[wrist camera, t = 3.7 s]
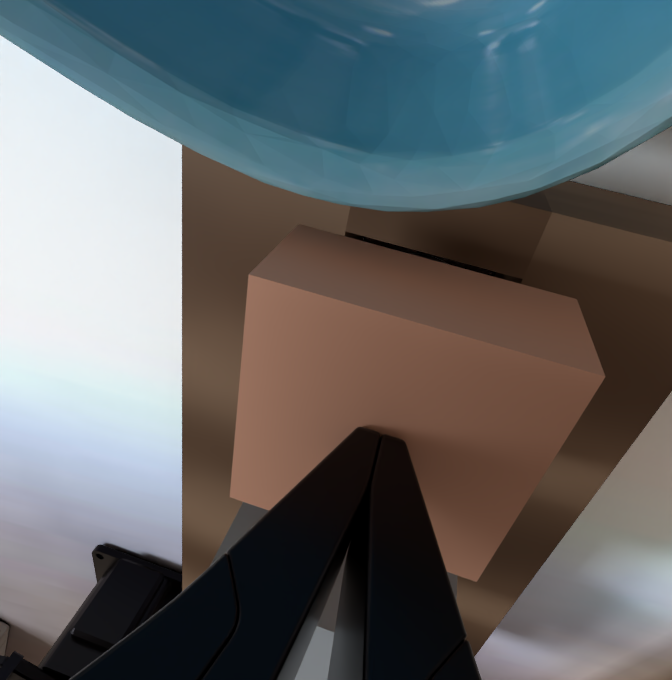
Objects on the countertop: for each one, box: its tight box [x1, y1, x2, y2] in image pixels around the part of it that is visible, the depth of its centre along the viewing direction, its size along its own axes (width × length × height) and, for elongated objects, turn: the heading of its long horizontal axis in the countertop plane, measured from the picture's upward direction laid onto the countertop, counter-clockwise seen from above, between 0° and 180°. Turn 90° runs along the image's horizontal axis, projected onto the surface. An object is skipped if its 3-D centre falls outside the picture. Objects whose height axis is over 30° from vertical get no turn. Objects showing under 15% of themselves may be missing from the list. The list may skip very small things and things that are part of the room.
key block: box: [182, 145, 672, 657], centre depth 17 cm, size 20×12×4 cm, turn 169°
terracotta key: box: [230, 224, 605, 582], centre depth 11 cm, size 5×5×6 cm
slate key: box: [210, 502, 458, 680], centre depth 13 cm, size 5×5×6 cm
